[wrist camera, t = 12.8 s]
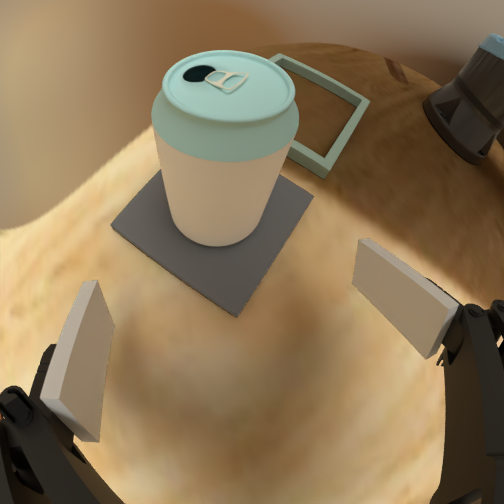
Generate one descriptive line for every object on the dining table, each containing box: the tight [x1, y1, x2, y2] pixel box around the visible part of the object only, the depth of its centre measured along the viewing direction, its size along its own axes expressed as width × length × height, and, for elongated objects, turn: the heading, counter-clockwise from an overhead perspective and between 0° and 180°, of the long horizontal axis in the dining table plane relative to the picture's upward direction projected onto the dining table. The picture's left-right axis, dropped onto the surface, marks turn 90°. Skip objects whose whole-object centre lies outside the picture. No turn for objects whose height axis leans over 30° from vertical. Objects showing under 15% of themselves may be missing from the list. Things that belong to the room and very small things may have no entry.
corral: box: [268, 53, 370, 179], centre depth 27 cm, size 16×14×2 cm
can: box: [151, 50, 299, 246], centre depth 15 cm, size 7×7×12 cm
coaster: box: [111, 169, 314, 318], centre depth 21 cm, size 12×12×1 cm
